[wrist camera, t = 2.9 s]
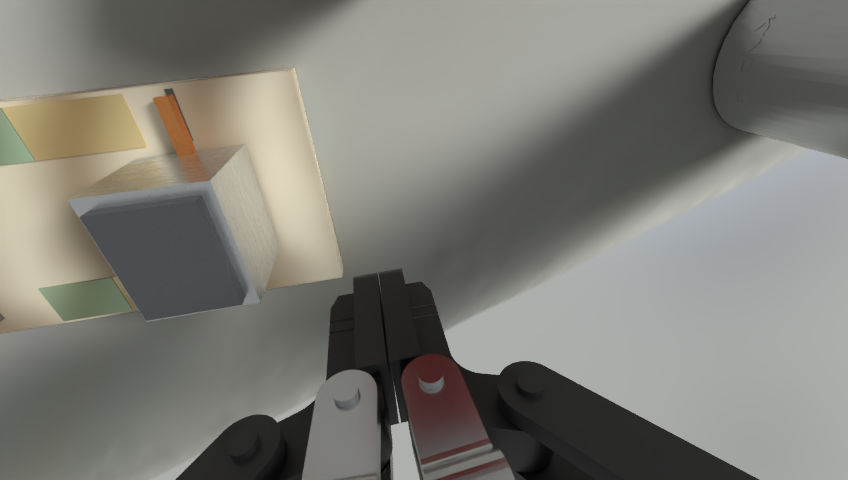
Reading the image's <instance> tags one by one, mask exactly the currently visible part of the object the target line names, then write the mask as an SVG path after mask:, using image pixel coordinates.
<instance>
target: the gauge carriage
mask: <svg viewBox="0 0 848 480" xmlns="http://www.w3.org/2000/svg"><path fill="white" fill-rule="evenodd" d="M153 101H154V103H155V105H156V107H157V110H158V112H159V114H160V116H161V119H162V121H163V123H164V125H165V128H166V130H167V132H168V135H169V137H170V139H171V141H172V144H173V146H174V148H175V150H176V153H172V154H164V155H157V156H149V157H141V158H136V159H135V160H133V161H131V162H130V163H128V164H126V165H125V166H123V167H121V168H120V169H118V170H116V171H115V172H113V173H111V174H110V175H108V176H106V177H105V178H103V179H101V180H100V181H98V182H96V183H95V184H93V185H91V186H90V187H88V188H86V189H85V190H83V191H81V192H80V193H78V194H76V195H75V196H73V197H71V198H70V199H68V202H69V203H70V205H71V207H72V208H73V210H74V211H75V213H76V214H77V216H78V217H79V219H80V221H81V222H82V224H83V225H84V227H85V228H86V230H87V231H88V233H89V235H90V236H91V238H92V239H93V241H94V242H95V244H96V245H97V247H98V248H99V250H100V252H101V253H102V255H103V256H104V258H105V259H106V261H107V262H108V264H109V266H110V267H111V269H112V270H113V272H114V273H115V275H116V276H117V278H118V280H119V281H120V283H121V284H122V286H123V287H124V289H125V290H126V292H127V293H128V295H129V297H130V298H131V300H132V301H133V303H134V304H135V306H136V307H137V309H138V311H139V312H140V314H141V315H142V317H143V318H144V320H145V321H146V322H150V321H156V320H162V319H168V318H174V317H179V316H185V315H191V314H197V313H203V312H209V311H215V310H221V309H227V308H233V307H239V306H245V305H251V304H257V303H261V300H262V297H263V294H264V292H265V289H266V286H267V283H268V280H269V277H270V274H271V271H272V268H273V265H274V263H275V260H276V257H277V254H278V251H279V248H280V246H279V243H278V240H277V237H276V234H275V232H274V229H273V226H272V223H271V220H270V217H269V214H268V211H267V208H266V205H265V202H264V199H263V196H262V194H261V191H260V188H259V185H258V182H257V179H256V176H255V173H254V170H253V167H252V164H251V161H250V159H249V156H248V153H247V150H246V147H245V144H242V145H234V146H227V147H219V148H211V149H203V150H196V149H195V146H194V144H193V142H192V139H191V137H190V134H189V132H188V130H187V127H186V125H185V122H184V120H183V117H182V115H181V113H180V110H179V108H178V105H177V103H176V101H175V98H174V96H173V94H171V95H162V96H157V97H154V98H153Z"/></svg>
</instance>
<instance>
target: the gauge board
mask: <svg viewBox="0 0 848 480" xmlns="http://www.w3.org/2000/svg"><path fill="white" fill-rule="evenodd" d="M171 94H173V96H174V98H175V101H176V103H177V105H178V108H179V110H180V113H181V115H182V117H183V120H184V122H185V125H186V127H187V130H188V132H189V134H190V137H191V139H192V142H193V144H194V146H195V149H196V150H203V149H211V148H219V147H227V146H234V145H242V144H245V147H246V150H247V153H248V156H249V159H250V161H251V164H252V167H253V170H254V173H255V176H256V179H257V182H258V185H259V188H260V191H261V194H262V196H263V199H264V202H265V205H266V208H267V211H268V214H269V217H270V220H271V223H272V226H273V229H274V232H275V234H276V237H277V240H278V243H279V246H280V248H279V251H278V254H277V257H276V260H275V263H274V265H273V268H272V271H271V274H270V277H269V280H268V283H267V286H266V289H265V290H269V289H275V288H281V287H287V286H293V285H299V284H305V283H311V282H317V281H323V280H329V279H335V278H341V277H343V263H342V259H341V255H340V251H339V247H338V243H337V239H336V235H335V231H334V227H333V223H332V219H331V214H330V210H329V206H328V202H327V198H326V194H325V190H324V186H323V182H322V178H321V174H320V170H319V166H318V161H317V157H316V153H315V149H314V145H313V141H312V137H311V133H310V129H309V125H308V121H307V117H306V113H305V108H304V104H303V100H302V96H301V92H300V88H299V84H298V80H297V76H296V72H295V68H287V69H278V70H269V71H260V72H251V73H242V74H233V75H224V76H215V77H206V78H197V79H188V80H179V81H170V82H161V83H152V84H143V85H134V86H125V87H116V88H107V89H98V90H89V91H80V92H71V93H62V94H53V95H44V96H35V97H26V98H17V99H8V100H0V334H2V333H8V332H14V331H20V330H26V329H32V328H38V327H44V326H50V325H56V324H62V323H69V322H75V321H81V320H87V319H93V318H99V317H105V316H111V315H117V314H123V313H129V312H135V311H138V309H137V307H136V306H135V304H134V303H133V301H132V300H131V298H130V297H129V295H128V293H127V292H126V290H125V289H124V287H123V286H122V284H121V283H120V281H119V280H118V278H117V276H116V275H115V273H114V272H113V270H112V269H111V267H110V266H109V264H108V262H107V261H106V259H105V258H104V256H103V255H102V253H101V252H100V250H99V248H98V247H97V245H96V244H95V242H94V241H93V239H92V238H91V236H90V235H89V233H88V231H87V230H86V228H85V227H84V225H83V224H82V222H81V221H80V219H79V217H78V216H77V214H76V213H75V211H74V210H73V208H72V207H71V205H70V203H69V202H68V199H70V198H71V197H73V196H75V195H76V194H78V193H80V192H81V191H83V190H85V189H86V188H88V187H90V186H91V185H93V184H95V183H96V182H98V181H100V180H101V179H103V178H105V177H106V176H108V175H110V174H111V173H113V172H115V171H116V170H118V169H120V168H121V167H123V166H125V165H126V164H128V163H130V162H131V161H133V160H135V159H136V158H141V157H149V156H157V155H164V154H172V153H176V150H175V148H174V146H173V144H172V141H171V139H170V137H169V135H168V132H167V130H166V128H165V125H164V123H163V121H162V119H161V116H160V114H159V112H158V110H157V107H156V105H155V103H154V101H153V98H154V97H157V96H162V95H171Z"/></svg>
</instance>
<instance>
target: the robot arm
mask: <svg viewBox="0 0 848 480" xmlns="http://www.w3.org/2000/svg"><path fill="white" fill-rule="evenodd" d="M713 97H714V102H715V106H716V109H717V111H718V112H719V114H720V116H721V118H722V119H723V120H724V121H725V122H726V123H728V124H729V125H730V126H732V127H734V128H737V129H739V130H742V131H746V132H750V133H754V134H757V135H761V136H765V137H769V138H772V139H776V140H780V141H784V142H787V143H791V144H795V145H798V146H801V147H805V148H808V149H812V150H816V151H820V152H824V153H827V154H831V155H835V156H839V157H842V158H846V159H848V0H750V1H749V2H748V3H747V5H746V6H745V8H744V9H743V10H742V12H741V13H740V15H739V16H738V17H737V19H736V20H735V22H734V23H733V25H732V27H731V29H730V31H729V33H728V35H727V36H726V38H725V40H724V42H723V45H722V48H721V50H720V53H719V56H718V59H717V62H716V67H715V72H714V77H713ZM379 279H380V286H379V281H378V276H377V273H374V274H368V275H362V276H356V277H354V278H353V286H354V294H348V295H342V296H338V298H337V300H336V301H335V303H334V304H333V306H332V308H331V315H330V331H329V333H330V336H329V347H328V363H327V378H326V381H325V383H324V384H323V385H322V386H321V388H320V389H319V391H318V393H317V396H316V399H315V400H314V401H313V402H312V403H311V404H310V405H309V406H307V407H306V408H305V409H303V410H301V411H299V412H298V413H296V414H294V415H292V416H290V417H288V418H286V419H284V420H282V421H280V422H278V423H277V422H276V421H275V420H274V419H273V418H272V417H269V416H267V415H252V416H248V417H245V418H243V419H241V420H239V421H237V422H235V423H233V424H232V425H231V426H229V427H228V428H227V429H226V430H225V431H224V432H223V433H222V434H221V435H220V436H219V437H218V438H217V439H216V440H215V441H214V442H213V443H212V444H211V445H210V446H209V447H208V448H207V449H206V450H205V451H204V452H203V453H202V454H201V455H200V456H199V457H198V458H197V459H196V460H195V461H194V462H193V463H192V464H191V465H190V466H189V467H188V468H187V469H186V470H185V471H184V472H183V473H182V474H181V475H180V476H179V477H178V478H177V479H176V480H393V456H392V435H391V425H393V424H398V423H399V421H398V413H397V406H396V397H397V402H398V408H399V413H400V418H401V422H406V421H408V423H409V430H410V435H411V441H412V447H413V452H414V457H415V461H416V465H417V470H418V474H419V479H420V480H759V479H757V478H755V477H753V476H751V475H749V474H747V473H745V472H744V471H742V470H740V469H738V468H736V467H734V466H732V465H730V464H728V463H727V462H725V461H723V460H721V459H719V458H717V457H715V456H713V455H711V454H710V453H708V452H706V451H704V450H702V449H700V448H698V447H696V446H694V445H692V444H691V443H689V442H687V441H685V440H683V439H681V438H679V437H677V436H675V435H674V434H672V433H670V432H668V431H666V430H664V429H662V428H660V427H659V426H657V425H655V424H653V423H651V422H649V421H647V420H645V419H644V418H642V417H639V416H638V415H636V414H634V413H632V412H630V411H628V410H626V409H624V408H622V407H621V406H619V405H617V404H615V403H613V402H611V401H609V400H608V399H605V398H604V397H602V396H600V395H598V394H596V393H594V392H592V391H591V390H589V389H587V388H585V387H583V386H581V385H579V384H577V383H575V382H574V381H572V380H570V379H568V378H566V377H564V376H562V375H560V374H558V373H557V372H555V371H553V370H551V369H549V368H547V367H545V366H543V365H541V364H538V363H535V362H530V361H520V362H516V363H512V364H510V365H509V366H507V367H505V368H504V369H503V370H502V372H501V373H500V375H491V374H481V373H475V372H471V371H469V370H466V369H465V368H463V367H461V366H460V365H459V364H457V363H456V361H455V360H454V359H453V357H452V356H451V353H450V351H449V348H448V344H447V341H446V338H445V335H444V331H443V328H442V325H441V322H440V319H439V315H438V312H437V309H436V306H435V303H434V299H433V296H432V293H431V290H429V289H428V288H427V287H426V286H425V285H424V284H423V283H422V282H416V283H410V284H405V281H404V277H403V272H402V269H396V270H391V271H385V272H379ZM380 287H381V292H380ZM381 295H382V297H381ZM394 386H395V389H394ZM395 392H396V397H395Z"/></svg>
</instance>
